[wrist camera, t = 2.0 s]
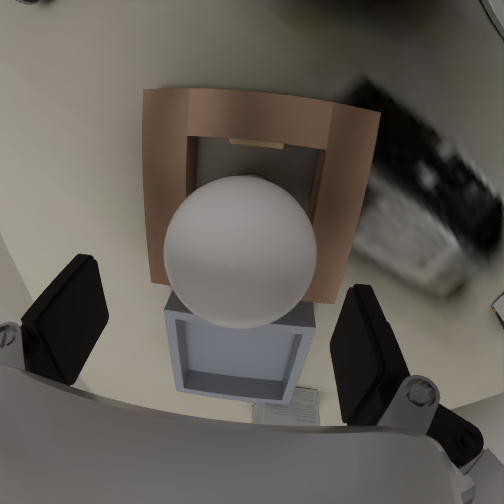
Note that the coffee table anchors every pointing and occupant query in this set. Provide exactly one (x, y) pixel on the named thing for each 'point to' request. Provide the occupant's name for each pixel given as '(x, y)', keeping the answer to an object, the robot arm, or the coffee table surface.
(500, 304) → the medicine bottle
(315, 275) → the socket collar
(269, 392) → the tray
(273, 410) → the skincare box
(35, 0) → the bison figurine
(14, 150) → the coffee table surface
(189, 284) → the lightbulb
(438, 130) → the coffee table surface
